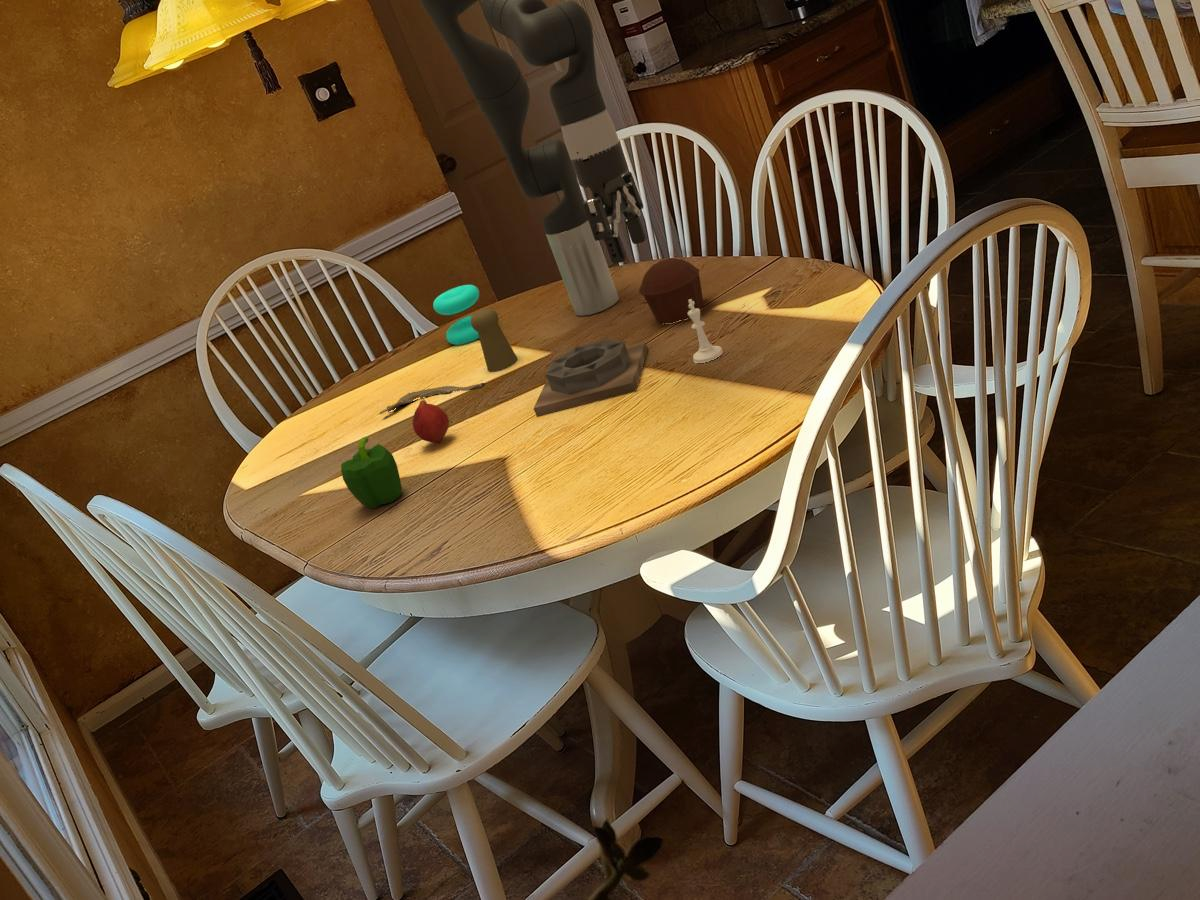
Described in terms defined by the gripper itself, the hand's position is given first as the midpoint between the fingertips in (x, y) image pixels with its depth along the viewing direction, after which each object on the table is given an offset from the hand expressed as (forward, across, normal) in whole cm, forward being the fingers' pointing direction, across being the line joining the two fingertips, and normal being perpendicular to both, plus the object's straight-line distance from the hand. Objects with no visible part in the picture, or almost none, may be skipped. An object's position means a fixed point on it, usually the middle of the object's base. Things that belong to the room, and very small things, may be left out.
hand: (630, 252), depth 167 cm
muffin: (+20, -27, -8) cm, 35 cm away
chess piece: (+21, -6, +4) cm, 22 cm away
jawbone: (+21, -6, -51) cm, 56 cm away
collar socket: (+21, -3, -16) cm, 26 cm away
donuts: (+19, -37, -60) cm, 73 cm away
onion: (+21, +12, -39) cm, 46 cm away
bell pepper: (+21, +30, -39) cm, 53 cm away
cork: (+20, -18, -42) cm, 50 cm away
